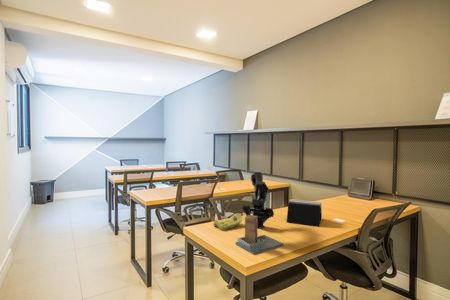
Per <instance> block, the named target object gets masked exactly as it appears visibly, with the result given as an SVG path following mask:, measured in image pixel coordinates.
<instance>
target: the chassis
mask: <svg viewBox="0 0 450 300" xmlns="http://www.w3.org/2000/svg"><path fill="white" fill-rule="evenodd" d="M235 245H236V246H238V247H239V248H241V249H243V250H244V251H247V252H249V253H250V254H252V255H256V254H260V253H263V252H267V251H270V250H272V249H276V248H280V247H283V246H284V242H281V241H280V240H277V239H274V238H272V237H270V236H268V235H266V234H263V235H259V236H258V235H257V242H255V243H252V244H249V243H247V242H245V236H242V237H238V238H237V241H235Z"/></svg>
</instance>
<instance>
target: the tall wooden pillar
mask: <svg viewBox="0 0 450 300" xmlns="http://www.w3.org/2000/svg"><path fill="white" fill-rule="evenodd" d="M257 227H258V216H253V215H252V214H251V215H248V216H245V217H244V237H245V242H247V243H249V244H252V243H255V242H257V237H258V228H257Z"/></svg>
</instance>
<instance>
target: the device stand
mask: <svg viewBox="0 0 450 300" xmlns="http://www.w3.org/2000/svg"><path fill="white" fill-rule="evenodd" d="M286 213H287V214H286V223H288V224H295V225H303V226H310V227H316V228H317V227H318V228H320V225H321V222H322V215H323V214H322V202H321V201H313V200H312V201H311V200H302V199H293V198H292V199H291V198H290V199H289V200H288V202H287V212H286Z"/></svg>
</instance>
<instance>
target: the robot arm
mask: <svg viewBox="0 0 450 300" xmlns="http://www.w3.org/2000/svg"><path fill="white" fill-rule="evenodd" d="M263 175H264V174H262V172H260V171H259V172H257V171H256V172H254V173H252V174H251V176H250V182H251V185H252V186H253V188H254V198H252V200H251V205H247V204H244V205H242V211H243V212H244V214H245V215H246V216H248V215H253V216H258V227H257V229H262V228H265V226H266V225H264V224H265V223H266V221H267V220H269V219H271V218H273V217H274V215H275V212H274V210H273V208H270V207H266V205H265V204H266V201H267V196H268V193H269V189H270V188H269V187H268V185H267V184H266V182H265V181H263V178H264V177H263ZM251 206H252V207H251ZM251 213H252V214H251ZM246 216H245V217H246Z"/></svg>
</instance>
